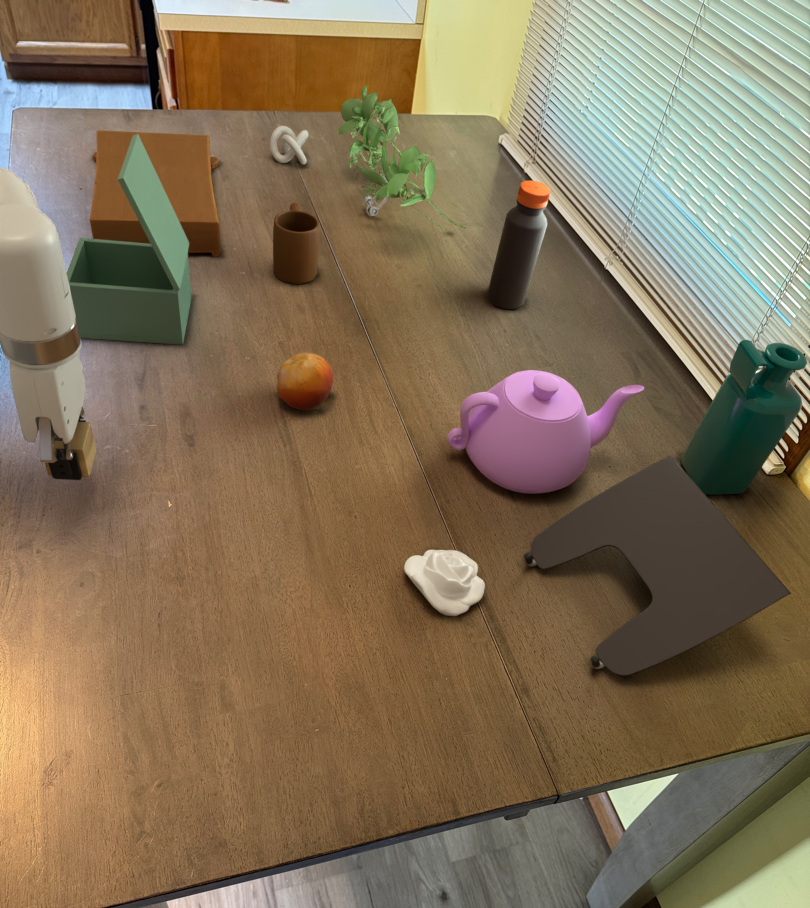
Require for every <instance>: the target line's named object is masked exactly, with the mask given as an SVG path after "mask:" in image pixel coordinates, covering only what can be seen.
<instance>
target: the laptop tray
mask: <svg viewBox="0 0 810 908" xmlns="http://www.w3.org/2000/svg"><path fill="white" fill-rule="evenodd" d="M605 547H614V548H616V549H617V550H619V551H620V552H621V554H622V555H623V556H624V557H625V559H626V560H627V561H628V562H629V564H630V565H631V567H633V569H634V570H635V571H636V573H637V574H638V576H639V577H640V578H641V580H642V581H643V582H644V585H646V587H647V588H648V590H649V591H650V593H651V596H652V600H651V603H650V604H649V606H647V608H646V609H644V610H642V611H641V612H640V613H637V615H634V617H632V618H631V619H629V620H628V621H626V622H625V623H624V624H622V625H621V626H620V627H619V628H617V629H616V630H614V632H612V633H611V634H609V636H608V637H606V638H605V639H603V641H602V642H600V643H599V644H598V645H597V646H596V648H595V654H596V655H592V656H591V658H590V660H591V665H592V668H593V669H595V670H600V669H603V668H606V669H608V671H609V672H611V673H613V674H614V675H617V676H621V677H627V676H631V675H638V674H639V672H643V671H644V670H647V669H650V668H652V667H654V666H657V665H660V664H662V663H663V662H666V661H668V660H671V659H673V658H675V657H677V656H679V655H682V654H683V653H686V652H688V651H690V650H692V649H694V648H696V647H698V646H700V645H702V644H704V643H706V642H708V641H710V640H712V639H713V638H716V637H717V636H719V635H721V634H723V633H725V632H726V631H729V630H730V629H732V628H734V627H736V626H737V625H739V624H741V623H743V622H745V621H747V620H748V619H750V618H752V617H753V616H755V615H757V614H758V613H760V612H762V611H764V610H765V609H767V608H769V607H771V606H772V605H774V604H775V603H778V602H779V601H780V600H782V599H784V598H785V597H787V596H789V595H792V592H791V591H790V590H789V589H788V587H787V586H786V585H785V584H784V583H783V582H782V580H780V579H779V577H778V576H777V575H776V574H775V573H774V572H773V570H772V569H771V568H770V567H769V565H767V564H766V563H765V561H764V560H763V559H762V558H761V557H760V556H759V554H758V553H757V552H756V551H755V550H754V549H753V548H752V546H750V543H748V542H747V541H746V539H745V538H744V537H743V536H742V535H741V534H740V533H739V531H738V530H737V529H736V528H735V527H734V526H733V525H732V524H731V523H730V521H729V520H728V519H727V518H726V517H725V515H724V514H723V513H722V512H721V511H720V510H719V509H718V507H717V506H716V505H715V504H714V503H713V502H712V500H711V499H710V498H709V497H708V496H707V494H704V493H703V492H702V490H701V489H700V488H699V487H698V486H697V485H696V484H695V482H694V481H693V480H692V479H691V478H690V477H689V476H688V474H687V472H686V470H685V469H684V468H683V467H682V465H680V464H679V462H677V460H676V459H675V458H674V457H673V456H672V455H671V454H669V455H667V456H666V457H663V458H662V459H660V460H658V461H656V462H654V463H652V464H650V465H648V466H646V467H645V468H643V469H641V470H639V471H638V472H637V471H636V472H635V473H633V474H632V475H630V476H628V477H627V478H624V479H623V480H621V481H619V482H618V483H616V484H613V485H612V486H610V487H608V488H607V489H606V490H604V491H602V492H600V493H599V494H597V495H595V496H593V497H591V498H590V499H589V500H587V501H585V502H583V503H582V504H580V505H579V506H577V507H576V508H574V509H573V510H571V511H570V512H568V513H567V514H565V515H563V516H562V517H560V518H559V519H558V520H556V521H554V522H553V523H552V524H550V525H549V526H548V527H546V528H545V529H543V530H542V531H541V532H539V533H538V534H536V536H535V537H534V538H533V539H532V542H531V543H530V551H531V552H525V553H524V554H523V558H524V561H525V563H526V565H527V566H528V567H535V566H538V568H539V569H541V570H549V569H552V568H555V567H557V566H561V565H564V564H565V563H569V562H572V561H574V560H576V559H579V558H581V557H584V556H586V555H588V554H590V553H593V552H594V551H597V550H599V549H602V548H605Z"/></svg>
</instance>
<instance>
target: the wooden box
mask: <svg viewBox="0 0 810 908" xmlns="http://www.w3.org/2000/svg"><path fill="white" fill-rule="evenodd" d="M137 134H138V135H139V137H140V139H141V141H142V143H143V146H144V148H145V150H146V152H147V154H148V156H149V158H150V160H151V163H152V165H153V167H154V169H155V171H156V173H157V175H158V177H159V180H160V182H161V184H162V186H163V188H164V190H165V192H166V194H167V197H168V199H169V201H170V203H171V205H172V207H173V209H174V211H175V214H176V216H177V218H178V220H179V222H180V224H181V226H182V228H183V231H184V233H185V235H186V237H187V239H188V241H189V248H188V253H211V256H212V257H219V256H220V254H221V251H222V250H221V231H220V221H219V215H218V209H217V204H216V200H215V199H216V198H215V194H214V186H213V185H214V184H213V181H212V180H213V179H212V170H214V169H215V168H217V167H218V166H219V165H220V161H219V157H217V156H211V143H210V141H211V140H210V136H209V135H208V134H189V133H188V134H187V133H169V132H168V133H165V132H147V131H146V132H143V131H126V130H125V131H123V130H103V129H102V130H101V129H100V130H99V129H98V130H96V151H95V152H93V155H92V157H93V160H94V162H95V163H96V164H95V178H94V186H93V193H92V194H93V195H92V202H91V207H90V214H89V224H90V231H91V235H92V239H100V240H112V241H124V242H136V243H147V244H151V243H150V241H149V240H148V238H147V236H146V234H145V232H144V230H143V228H142V226H141V224H140V222H139V220H138V218H137V216H136V214H135V212H134V210H133V208H132V206H131V205H130V203H129V201H128V199H127V197H126V195H125V193H124V191H123V189H122V187H121V185H120V183H119V181H118V177H119V174H120V171H121V168H122V165H123V162H124V159H125V157H126V154H127V151H128V148H129V145H130V142H131V139H132V137H133V135H137Z"/></svg>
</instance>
